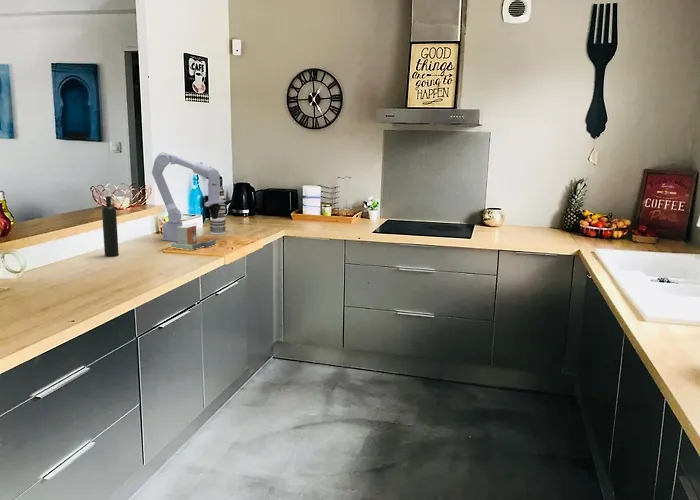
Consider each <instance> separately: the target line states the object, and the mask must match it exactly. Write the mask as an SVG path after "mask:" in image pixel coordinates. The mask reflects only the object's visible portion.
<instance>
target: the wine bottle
mask: <svg viewBox="0 0 700 500" xmlns="http://www.w3.org/2000/svg"><path fill="white" fill-rule="evenodd" d="M104 191H105V206H103V207H102V209H101V213H102V214H101V217H102V218H101V219H102V233H103V248H104V249H103V250H104V257H106V258H116V257H119V255H120V254H119V252H120V251H119V239H118V238H119V237H118V236H119V235H118V223H117V209H116V207H114V206H113V205H112V199H111V197H112V195H111V188H109V187H108V188H107V187H106V188H104Z"/></svg>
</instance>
